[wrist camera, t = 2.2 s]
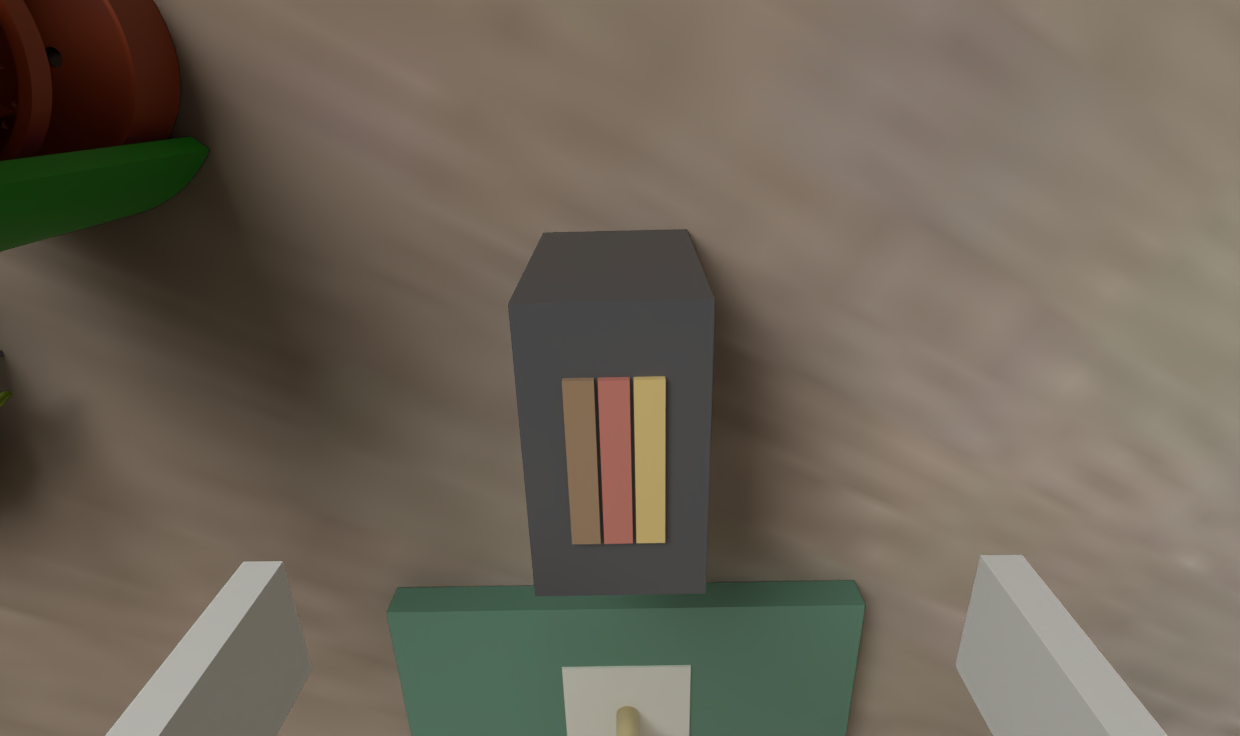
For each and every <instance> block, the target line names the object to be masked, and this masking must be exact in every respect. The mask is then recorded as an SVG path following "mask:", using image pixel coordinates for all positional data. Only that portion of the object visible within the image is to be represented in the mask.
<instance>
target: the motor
mask: <svg viewBox="0 0 1240 736" xmlns="http://www.w3.org/2000/svg"><path fill="white" fill-rule="evenodd" d="M49 47H53V48H55V49H57V50H58V51H59V52H60V54H61V56H62V64H61V66H59V67H54V66H52V65H51V64H50V63H49V62H48V58H47V54H46V50H47V49H48V48H49ZM179 103H180V73H179V66H178V60H177V56H176V52H175V48H174V45H173V42H172V39H171V36H170V34H169V31H168V29H167V26H166V24H165V22H164V20H163V18H162V16H161V14H160V12H159V10H158V9H157V7H156V5H155V4H154V2H153V0H0V252H1V251H4V250H8V249H11V248H15V247H19V246H22V245H26V244H29V243H33V242H37V241H40V240H44V239H48V238H51V237H55V236H58V235H62V234H66V233H69V232H73V231H76V230H80V229H84V228H87V227H91V226H95V225H98V224H102V223H105V222H109V221H113V220H116V219H120V218H123V217H127V216H131V215H134V214H138V213H141V212H144V211H147V210H150V209H152V208H154V207H156V206H159V205H160V204H162V203H164V202H166V201H167V200H169V199H170V198H172V197H173V196H175V195H176V194H177V193H178V192H179V191H181V190H182V189H183V188H184V187H185V186H186V185H187V184H188V183H189V182H190V181H191V179H192V178H193V177H194V176H195V175H196V173H197V172H198V170H199V169H200V167H201V166H202V164H203V162H204V160H205V159H206V157H207V154H208V152H209V150H210V149H209V148H207V147H206V146H204V145H203V144H201V143H200V142H199V141H197V140H196V139H194V138H193V137H183V138H175V139H168V138H169V136H170V134H171V132H172V130H173V127H174V125H175V122H176V118H177V114H178V109H179Z"/></svg>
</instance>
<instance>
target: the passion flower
mask: <svg viewBox="0 0 1240 736" xmlns="http://www.w3.org/2000/svg"><path fill="white" fill-rule="evenodd" d="M0 357H3V352H2V351H1V350H0ZM12 394H13V393H12V392H11V391H10V390H7V391H4V392H1V393H0V407H1V406H2V405H3V404H4V403H5V402H6V400H7V399H8V398H9V397H10V396H11V395H12Z"/></svg>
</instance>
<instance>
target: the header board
mask: <svg viewBox="0 0 1240 736" xmlns="http://www.w3.org/2000/svg"><path fill="white" fill-rule="evenodd" d="M864 610H865V603H864V601H863V599H862V597H861V595H860V592H859V590H858V588H857V586H856V584H855V581H854V580H852V581H790V582H728V583H706V594H654V595H591V596H535V588H534V586H481V587H420V588H397V589H396V592H395V594H394V596H393V599H392V601H391V603H390V605H389V608H388V610H387V612H386V613H387V618H388V623H389V628H390V633H391V638H392V642H393V647H394V652H395V657H396V662H397V667H398V672H399V677H400V682H401V686H402V691H403V696H404V701H405V706H406V711H407V716H408V721H409V726H410V731H411V735H412V736H846V730H847V723H848V717H849V710H850V703H851V697H852V690H853V683H854V677H855V670H856V663H857V657H858V650H859V643H860V637H861V630H862V623H863V617H864Z"/></svg>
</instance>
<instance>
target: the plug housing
mask: <svg viewBox="0 0 1240 736" xmlns="http://www.w3.org/2000/svg"><path fill="white" fill-rule="evenodd" d="M508 308H509V318H510V329H511V340H512V351H513V362H514V372H515V383H516V394H517V405H518V415H519V426H520V437H521V448H522V459H523V469H524V480H525V491H526V502H527V512H528V523H529V534H530V545H531V555H532V566H533V577H534V588H535V596H591V595H654V594H706V568H707V537H708V506H709V474H710V443H711V412H712V380H713V349H714V318H715V298H714V295H713V293H712V291H711V288H710V286H709V283H708V281H707V278H706V276H705V273H704V271H703V268H702V266H701V263H700V261H699V258H698V256H697V253H696V251H695V248H694V246H693V243H692V241H691V238H690V236H689V233H688V231H687V229H684V230H640V231H597V232H554V233H543V235H542V237H541V239H540V241H539V243H538V245H537V247H536V249H535V251H534V253H533V255H532V257H531V259H530V261H529V263H528V265H527V267H526V269H525V271H524V273H523V275H522V277H521V279H520V281H519V283H518V285H517V287H516V289H515V291H514V293H513V295H512V297H511V299H510V301H509V303H508Z"/></svg>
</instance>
